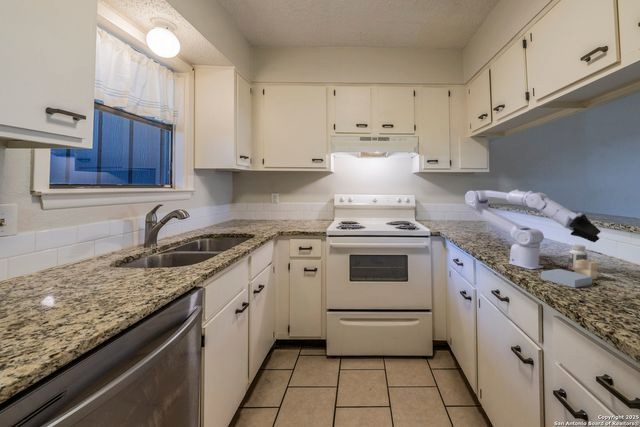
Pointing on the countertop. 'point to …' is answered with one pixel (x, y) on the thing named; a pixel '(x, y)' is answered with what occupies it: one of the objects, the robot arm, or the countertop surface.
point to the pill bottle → (576, 255)
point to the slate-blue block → (566, 277)
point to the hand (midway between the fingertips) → (597, 237)
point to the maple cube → (586, 268)
